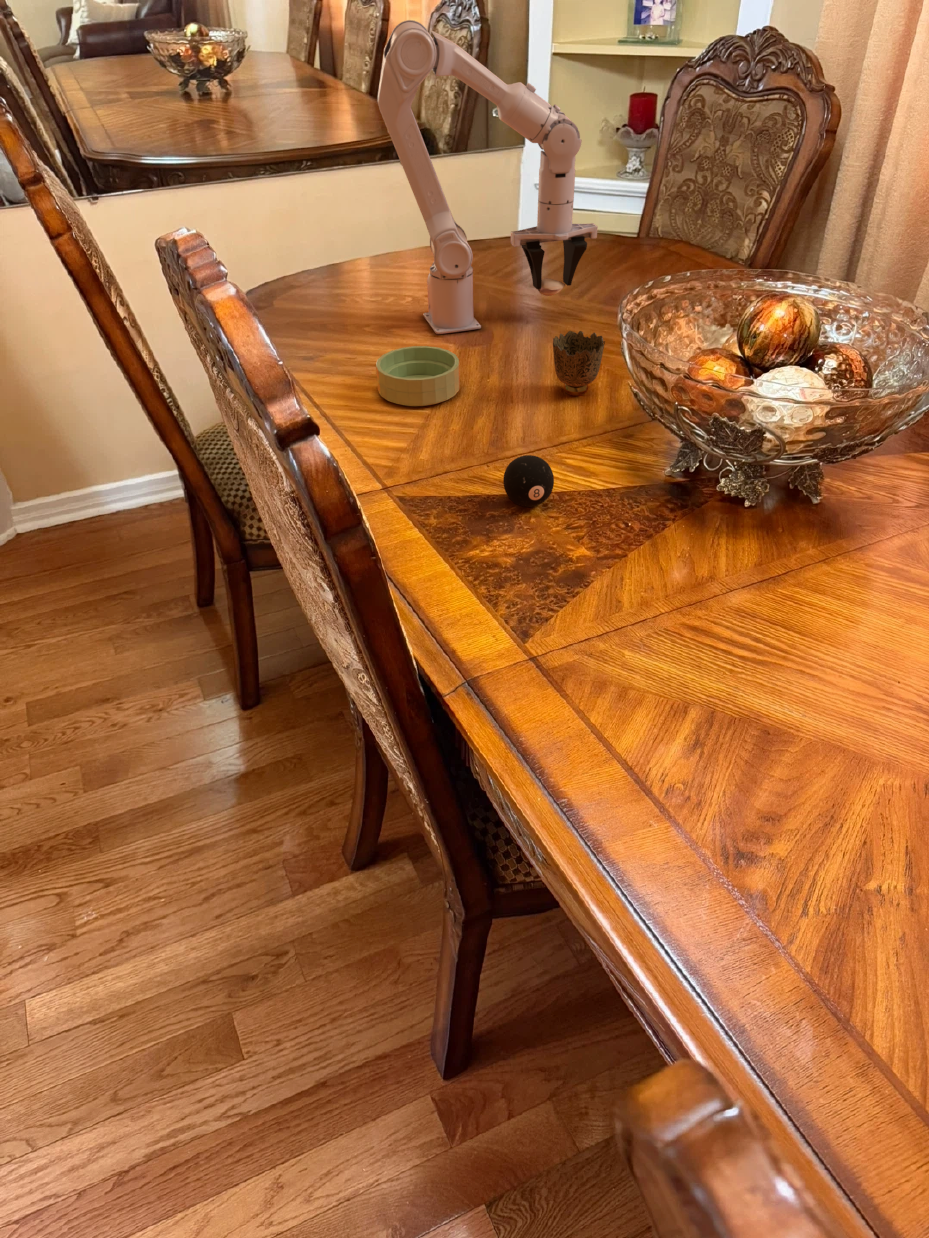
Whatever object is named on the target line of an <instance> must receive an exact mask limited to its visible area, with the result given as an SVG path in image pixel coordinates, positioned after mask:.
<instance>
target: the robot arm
mask: <svg viewBox="0 0 929 1238" xmlns="http://www.w3.org/2000/svg"><path fill="white" fill-rule="evenodd" d="M430 33H431V34H432V36H431V34H430ZM430 33H429V31H428V29H427V28H426V26H424V25H423V24H422V23H421V22H419V21H416V20H412V19H407V20H404V21H401V22H399V23H398V24H397V25H396V26H395V27H394V28H393V29H392V32H391V33H390V35H389V38H388V39H387V42H386V44H385V46H384V48H383V55H382V63H381V69H380V78H379V85H378V91H377V105H378V109H379V112H380V114H381V117H382V119H383V123H384V124H385V127H386V129H387V133H388V134H389V136H390V139H391V142H392V144H393V146H394V149H395V152H396V154H397V156H398V159H399V161H400V164H401V166H402V169H403V172H404V174H405V176H406V180H407V181H408V183H409V186H410V188H411V191H412V194H413V197H414V199H415V201H416V204H417V206H418V208H419V211H420V213H421V216H422V218H423V220H424V223H425V227H426V230H427V233H428V235H429V247H430V248H429V249H430V250H431V253H432V256H433V262H432V264H431V266H430V267H429V273H428V275H427V278H426V279H427V280H426V285H427V286H426V287H427V307H428V312H424V313H423V314H422V316H423V318H424V319H425V321H426V322H427V323H428V325H429V326H430V328H431V329H432V331H433V332H434V333H435V334H436V335H445V334H451V333H459V332H466V331H473V330H480V329H481V328H482V325H481V324H480V323H479V321H478V320H477V319H476V318H475V317H474V268H473V266H472V264H473V259H474V255H473V251H472V248H471V246H470V244H469V242H468V238H467V234H466V232H465V230H464V229H463V228H462V227H461V225H459V224H458V223H457V222H456V221H455V218H454V216H453V214H452V211H451V208H450V206H449V204H448V201H447V199H446V196H445V193H444V191H443V188H442V185H441V183H440V180H439V177H438V175H437V172H436V169H435V167H434V164H433V161H432V159H431V156H430V154H429V150H428V149H427V146H426V144H425V140H424V138H423V135H422V132H421V131H420V128H419V127H420V126H419V125H418V122H417V119H416V118H415V115H414V112H413V110H412V104H413V102H414V100H415V98H416V95H417V92H418V90H419V86H420V85H421V84H422V83H423V81H424V80H425V79H427V77H428V75H429V74H430V73H431V72H432V73H433V74H434V76H435V77H452V76H453V77H454V78H456V79H457V80H459V81H461V82H462V83H463V84H465V85H466V86H468V87H470V88H471V89H473V91H475V92H477V93H478V94H479V95H481V96H483V97H484V98H485V99H487V100H488V101H490V102H491V103H492V104H494V105H495V106H496V108H497V116H498V119H499V120H500V121H501V122H502V123H504V124H505V125H507V127H510V128H511V129H512V130H514V131H515V132H516V133H518V134H519V135H520V136H522V137H523V138H524V139H526V140H527V141H528V142H530V143H531V144H537V145H538V147H539V148H540V149H541V150H540V163H539V169H538V189H537V190H538V191H537V193H538V194H537V217H536V218H537V221H536V223H537V224H536V226H532V227H528V228H524V229H519V230H513V231H510V245H511V246H512V247H514V248H519V247H521V249H522V250H523V253H524V255H525V257H526V261H527V263H528V267H529V270H530V275H531V279H532V281H531V282H532V286H533V287H534V288H535V290H538V289H541V284H542V275H543V273H542V271H543V262H544V257H545V252H546V251H545V250H544V249H543V248H542V245H541V244H543V243H544V244H545V243H551V242H552V243H553V242H561V241H562V244H563V245H562V246H563V269H562V283H564V284H565V286H567V287H568V286H569V287H570V286H572V282H573V279H574V276H575V273H576V270H577V268H578V265H579V263H580V261H581V259H582V257H583V255H584V254H585V252H586V251H587V249H588V242H587V241H586V239H591V240H594V239H597V238H598V228H599V227H598V225H596V224H595V223H593V222H591V223H573V219H574V218H573V217H574V200H575V185H576V184H575V182H576V155H578V153H579V151H580V149H581V147H582V142H583V141H582V139H581V134H580V131H579V128H578V126H577V124H575V123H574V122H573V120H571V119H570V118H569V117H568V116H567V115H566V113H565V112H564V111H561V110H562V109H561V107H560V106H558V105H557V104H553V105H551V104H550V103H549V102H548V101H546V100H545V99H543V98H542V97H541V96H540V95H539V94H537V93H536V90H537V88H536V87H535V86H534V85H532V83H530V82H527V83H526V85H525V84H524V83H523V82H521V81H518V82H514V83H510V84H507V83H506V82H504V80H502V79H501V78H500V77H498V76H497V75H496V74H495V73H494V72H492V71H490V69H488V68H487V67H486V66H485V65H483V64H482V63H481V62H480V61H478V60H477V59H476V58H474V57H473V56H472V55H471V54H470V53H468V52H467V51H466V50H465V49H463V48H462V47H461V46H459V45H458V44H457V43H455V41H452V40H450V39H449V38H447V37H445V36H443V35H441V34H440V33H439V32H436V31H434V30H433V29H430Z"/></svg>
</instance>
